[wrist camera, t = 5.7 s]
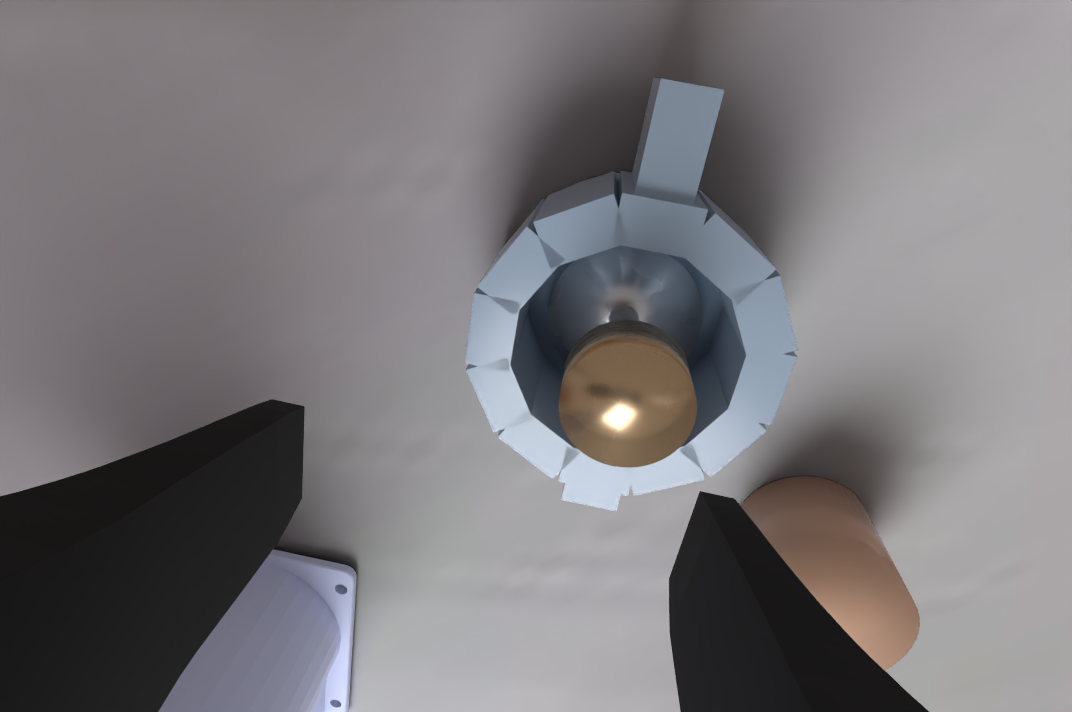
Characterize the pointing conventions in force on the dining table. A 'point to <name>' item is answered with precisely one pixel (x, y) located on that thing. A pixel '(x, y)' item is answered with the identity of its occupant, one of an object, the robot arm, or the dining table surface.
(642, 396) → the plunger
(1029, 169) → the dining table surface
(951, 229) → the dining table surface
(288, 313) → the dining table surface
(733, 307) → the press pot
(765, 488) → the tan rounded cylinder
